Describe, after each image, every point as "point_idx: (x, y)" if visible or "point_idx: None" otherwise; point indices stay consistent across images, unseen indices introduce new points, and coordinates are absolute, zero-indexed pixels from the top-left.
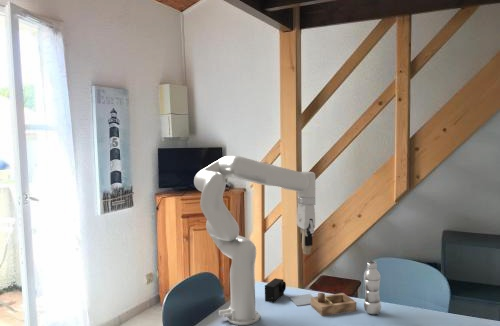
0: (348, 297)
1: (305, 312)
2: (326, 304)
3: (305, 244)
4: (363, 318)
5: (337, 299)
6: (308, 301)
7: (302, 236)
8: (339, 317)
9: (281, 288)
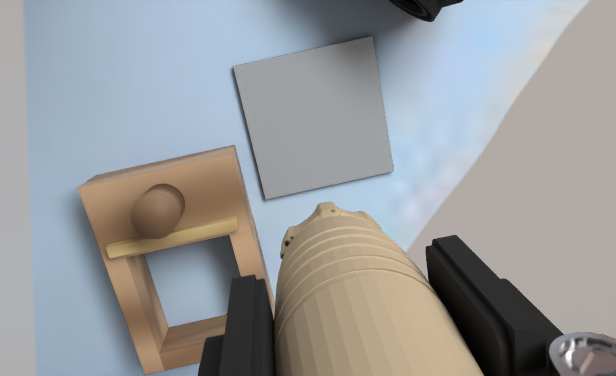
0: None
1: (145, 97)
2: (116, 221)
3: (232, 290)
4: (68, 354)
5: None
6: (283, 141)
7: (369, 326)
8: (79, 255)
9: None
